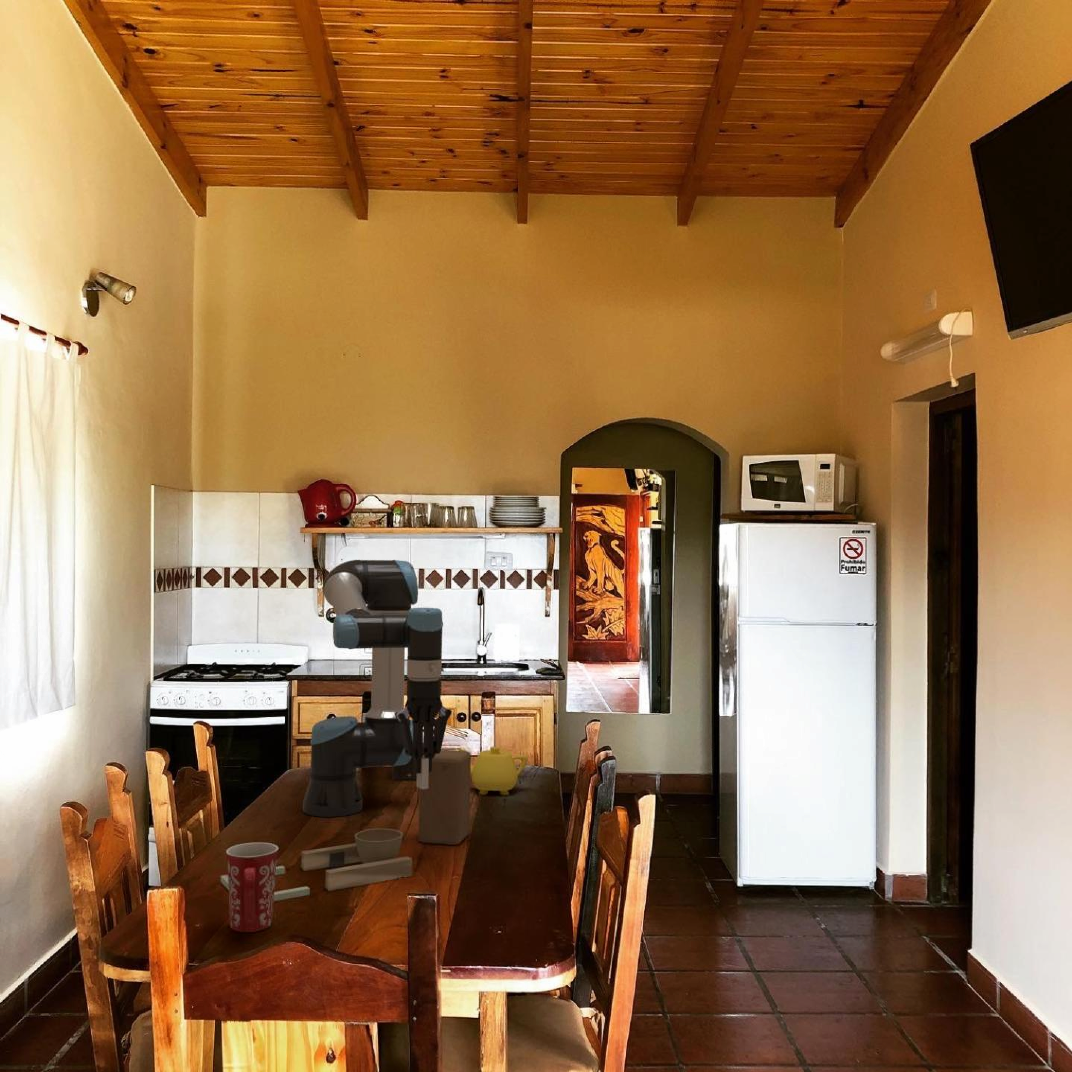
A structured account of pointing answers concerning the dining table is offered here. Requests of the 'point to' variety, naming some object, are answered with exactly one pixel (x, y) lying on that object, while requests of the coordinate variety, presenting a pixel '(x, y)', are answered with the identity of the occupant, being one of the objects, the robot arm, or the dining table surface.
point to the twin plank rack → (353, 867)
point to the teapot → (496, 770)
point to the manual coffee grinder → (406, 768)
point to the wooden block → (446, 799)
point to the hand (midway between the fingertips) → (422, 787)
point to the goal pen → (280, 894)
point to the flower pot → (378, 844)
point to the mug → (251, 885)
